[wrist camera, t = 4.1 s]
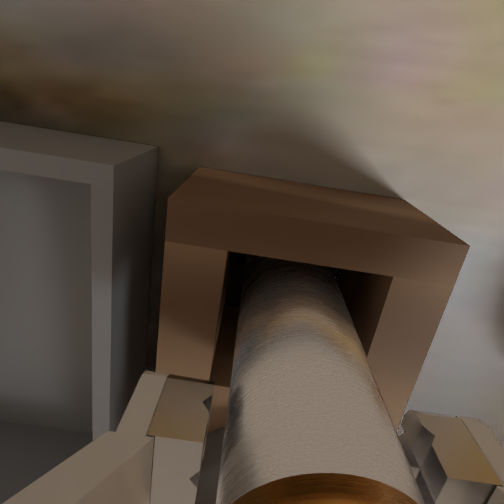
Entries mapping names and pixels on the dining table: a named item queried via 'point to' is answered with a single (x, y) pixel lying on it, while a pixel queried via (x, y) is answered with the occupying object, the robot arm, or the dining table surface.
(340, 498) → the pin
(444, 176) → the dining table surface
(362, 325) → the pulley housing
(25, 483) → the parts tray
